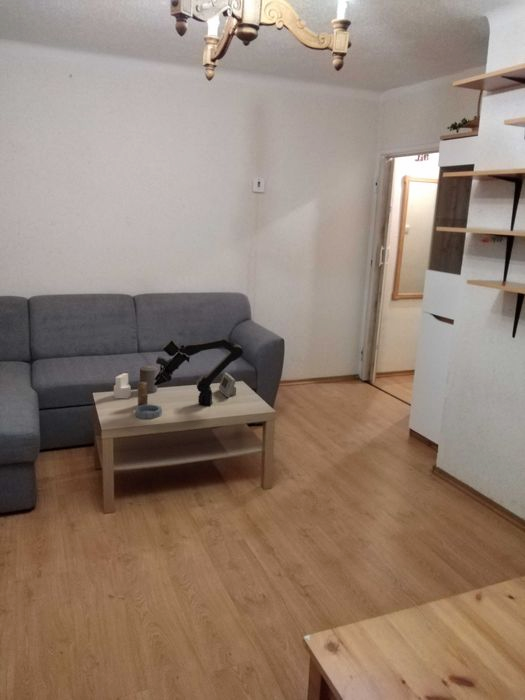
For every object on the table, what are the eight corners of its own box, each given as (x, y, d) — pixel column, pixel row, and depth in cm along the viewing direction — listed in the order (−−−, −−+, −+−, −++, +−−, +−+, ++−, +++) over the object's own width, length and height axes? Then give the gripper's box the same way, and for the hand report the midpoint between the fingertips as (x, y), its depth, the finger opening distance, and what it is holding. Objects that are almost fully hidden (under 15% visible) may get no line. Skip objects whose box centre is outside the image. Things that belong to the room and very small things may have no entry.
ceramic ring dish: (165, 411, 286) (165, 406, 285) (155, 419, 273) (155, 414, 273) (141, 408, 288) (141, 403, 288) (131, 417, 276) (130, 411, 275)
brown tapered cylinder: (149, 404, 295) (148, 382, 292) (145, 407, 290) (144, 384, 287) (140, 403, 296) (139, 381, 293) (136, 406, 291) (135, 384, 288)
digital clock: (218, 389, 324) (218, 372, 322) (233, 389, 326) (233, 371, 323) (221, 398, 309) (221, 380, 306) (237, 397, 310) (237, 379, 308)
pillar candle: (136, 391, 315) (136, 366, 312) (147, 387, 324) (147, 362, 320) (150, 394, 311) (149, 369, 307) (160, 390, 319) (160, 365, 316)
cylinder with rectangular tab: (119, 392, 312) (118, 372, 309) (133, 394, 310) (133, 374, 307) (111, 397, 304) (110, 376, 301) (125, 399, 301) (125, 378, 299)
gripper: (165, 347, 297) (144, 367, 298) (164, 355, 279) (142, 377, 280) (180, 361, 300) (159, 381, 301) (180, 370, 282) (158, 391, 283)
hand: (154, 382), depth 291 cm, fingers open, 9 cm apart
